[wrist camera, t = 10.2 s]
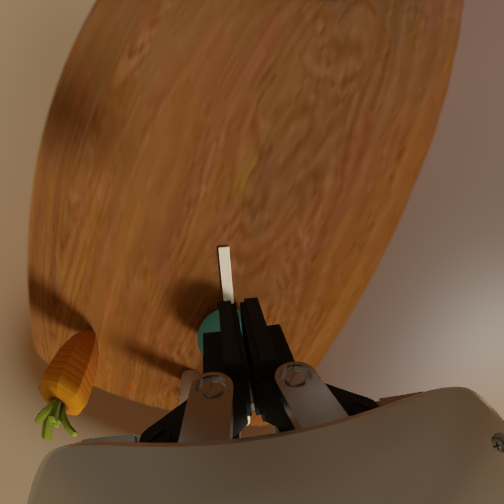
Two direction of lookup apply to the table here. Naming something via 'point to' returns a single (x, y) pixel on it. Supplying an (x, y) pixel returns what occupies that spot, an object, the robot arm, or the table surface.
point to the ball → (211, 326)
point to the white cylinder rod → (187, 383)
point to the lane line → (226, 273)
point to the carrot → (68, 382)
